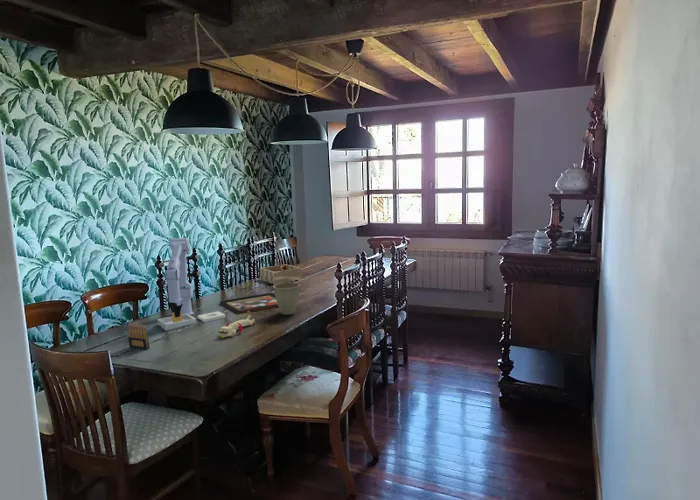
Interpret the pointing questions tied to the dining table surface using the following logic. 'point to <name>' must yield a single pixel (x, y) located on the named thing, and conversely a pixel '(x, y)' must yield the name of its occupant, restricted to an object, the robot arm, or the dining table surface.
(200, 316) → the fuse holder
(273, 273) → the display box
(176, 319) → the block
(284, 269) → the bear figurine
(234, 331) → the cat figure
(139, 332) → the ammunition clip
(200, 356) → the dining table surface
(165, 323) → the parts tray
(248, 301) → the framed painting
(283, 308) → the plant pot
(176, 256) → the robot arm
